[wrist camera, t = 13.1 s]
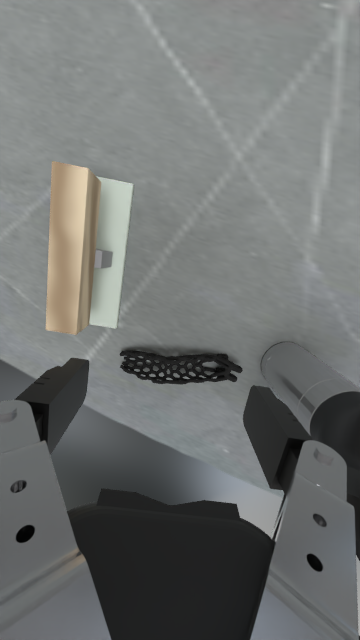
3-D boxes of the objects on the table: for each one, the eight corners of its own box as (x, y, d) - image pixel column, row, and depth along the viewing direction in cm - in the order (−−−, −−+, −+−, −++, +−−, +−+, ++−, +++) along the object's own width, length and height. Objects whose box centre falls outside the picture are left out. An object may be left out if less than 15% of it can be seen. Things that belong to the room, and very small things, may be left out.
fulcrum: (134, 185, 38) (125, 170, 31) (117, 326, 44) (107, 339, 37) (70, 172, 37) (47, 154, 30) (62, 318, 43) (42, 329, 36)
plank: (101, 182, 31) (88, 168, 27) (89, 324, 36) (76, 334, 32) (70, 175, 31) (52, 160, 26) (62, 320, 36) (45, 329, 31)
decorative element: (122, 368, 46) (115, 384, 41) (122, 344, 45) (115, 357, 39) (235, 374, 47) (243, 390, 42) (238, 350, 46) (247, 364, 40)
